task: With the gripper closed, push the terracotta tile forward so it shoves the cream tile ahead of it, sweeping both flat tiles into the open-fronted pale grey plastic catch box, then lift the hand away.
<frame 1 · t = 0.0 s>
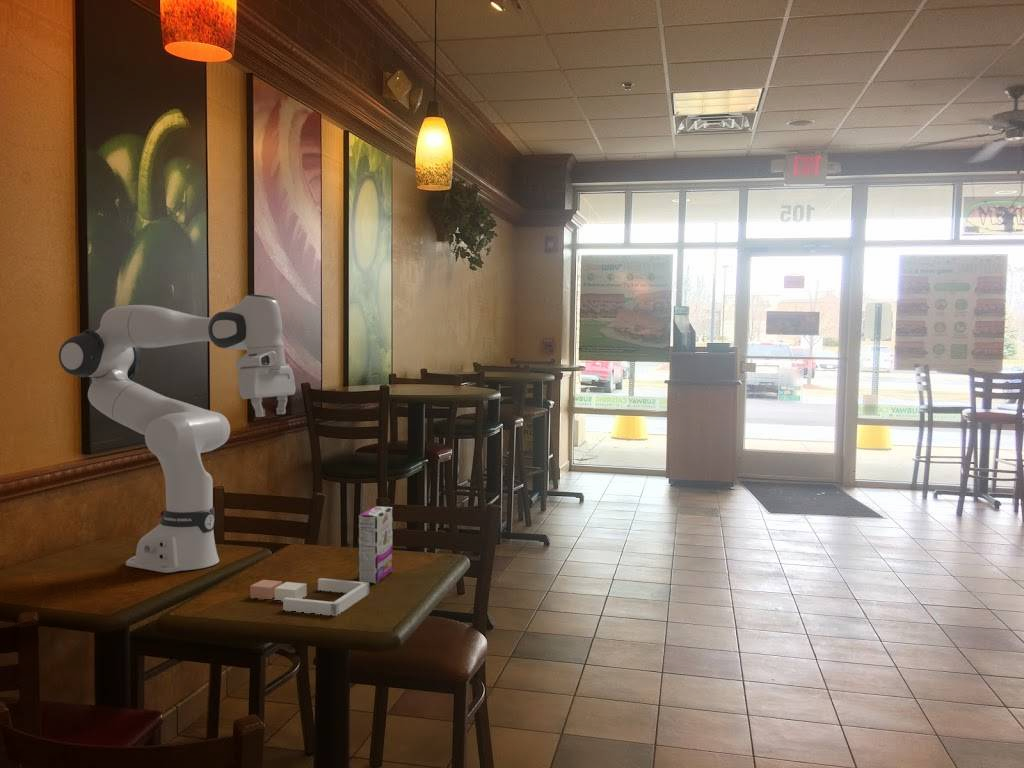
hand: (271, 415, 196), 39 cm above the table, tool pointing down, fingers open, 8 cm apart
cream tile: (290, 599, 176), on the table
terracotta tile: (266, 596, 178), on the table
candy bar box: (375, 578, 194), on the table
catch box: (327, 601, 174), on the table
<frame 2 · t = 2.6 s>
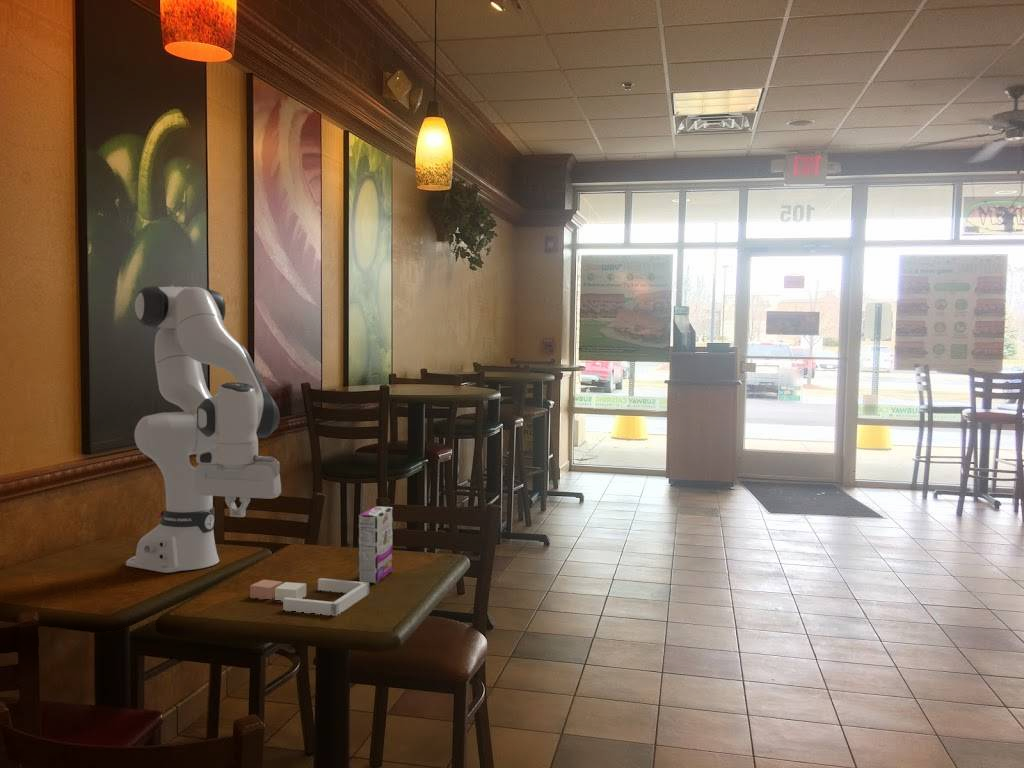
hand: (237, 516, 179), 17 cm above the table, tool pointing down, fingers closed
nothing on the table moved.
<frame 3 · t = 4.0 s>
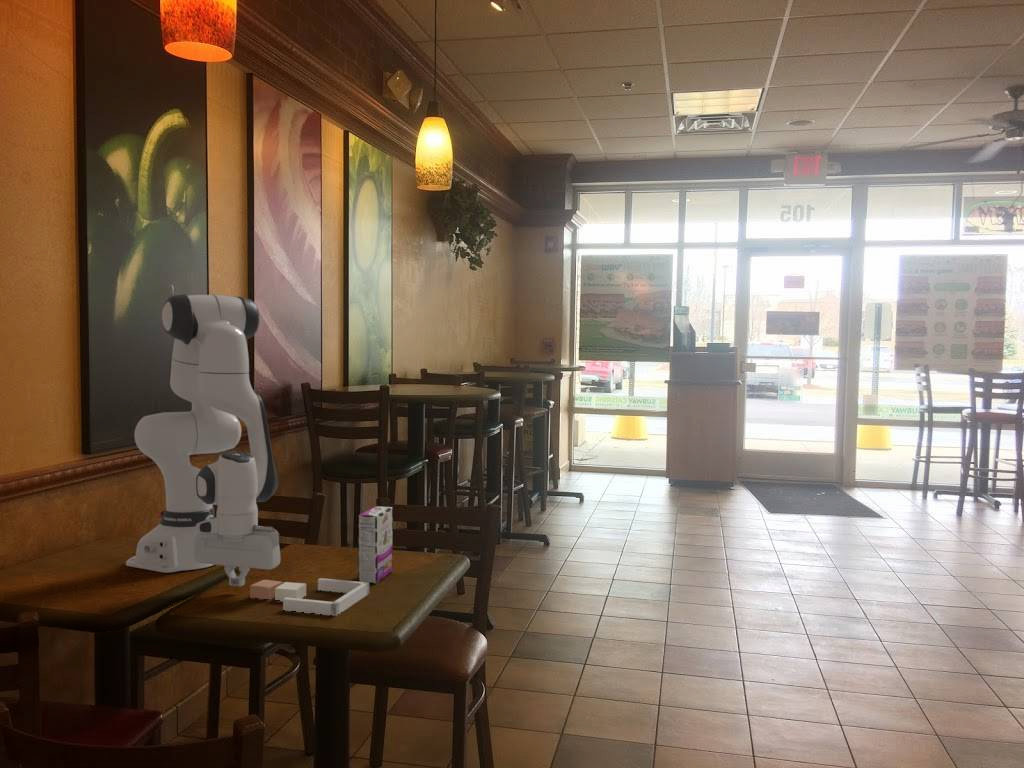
hand: (237, 585, 180), 2 cm above the table, tool pointing down, fingers closed
nothing on the table moved.
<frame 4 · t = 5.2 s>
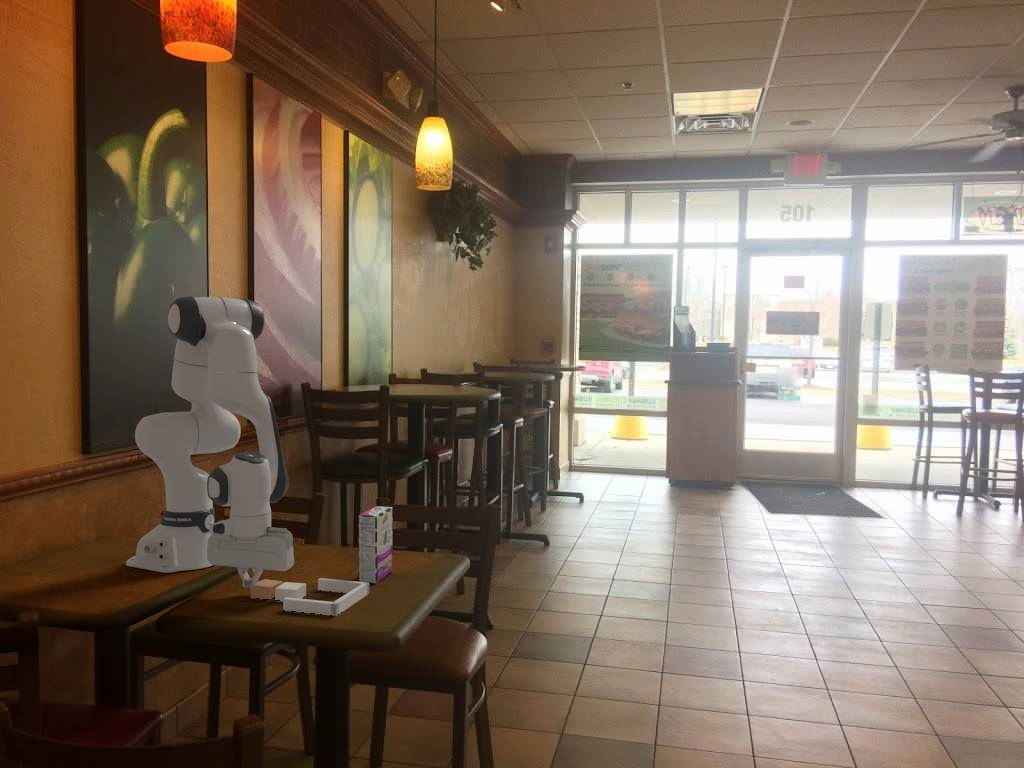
hand: (250, 586, 179), 2 cm above the table, tool pointing down, fingers closed
terracotta tile: (267, 596, 178), on the table, touching gripper
everything else where it was.
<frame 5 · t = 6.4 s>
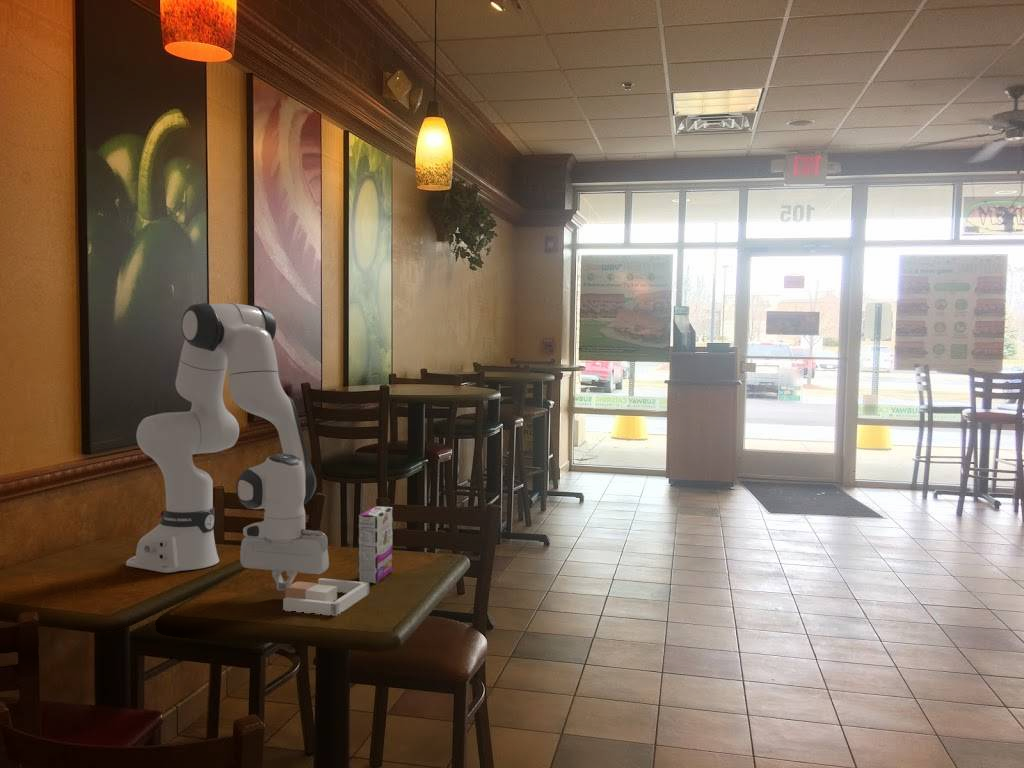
hand: (284, 590, 177), 2 cm above the table, tool pointing down, fingers closed
cream tile: (321, 601, 175), on the table, touching terracotta tile
terracotta tile: (301, 598, 176), on the table, touching cream tile, gripper
everything else where it was.
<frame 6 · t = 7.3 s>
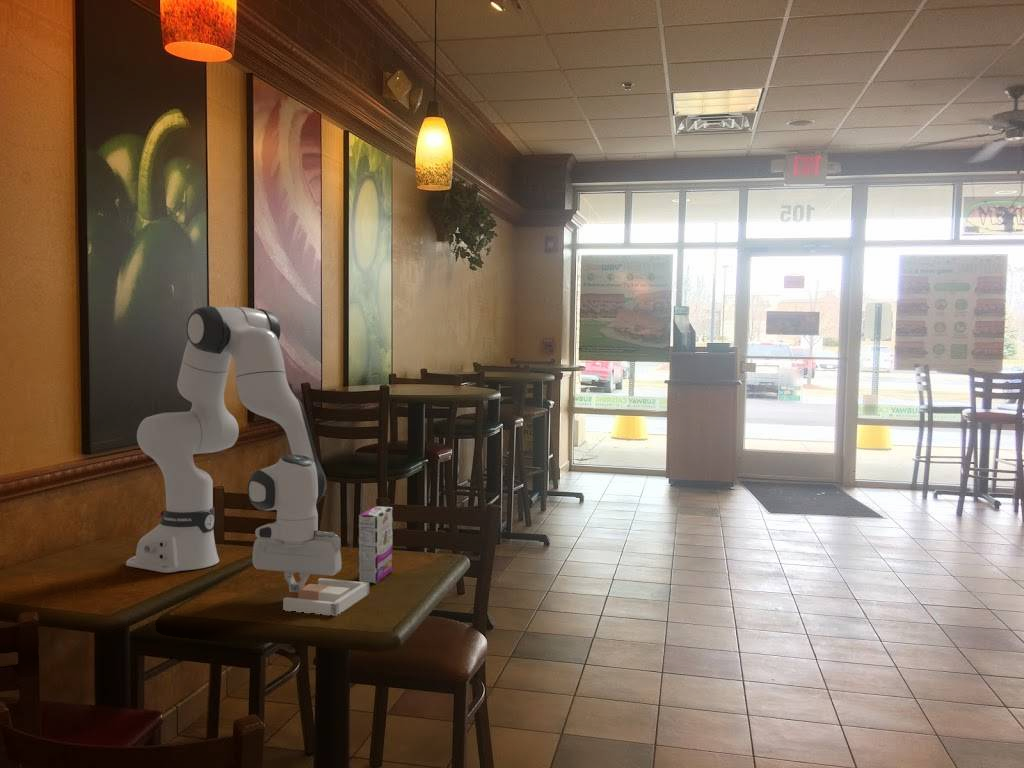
hand: (296, 591, 176), 2 cm above the table, tool pointing down, fingers closed
cream tile: (334, 603, 174), on the table
terracotta tile: (314, 601, 176), on the table
everything else where it was.
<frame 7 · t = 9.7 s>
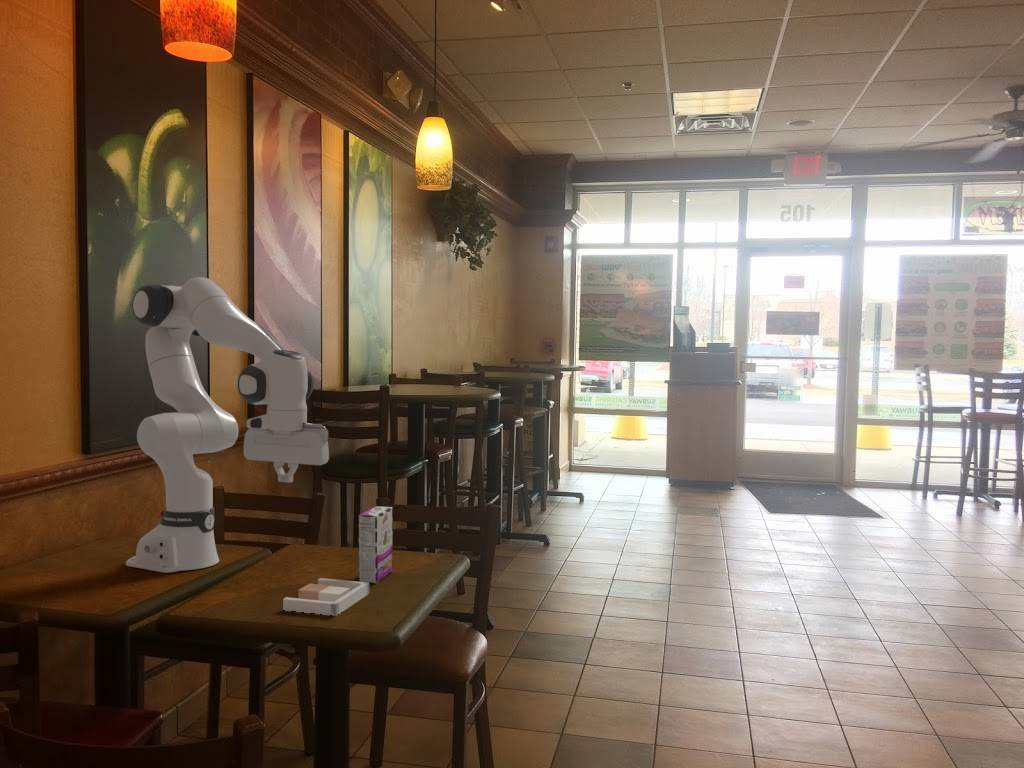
hand: (285, 481, 182), 25 cm above the table, tool pointing down, fingers closed
nothing on the table moved.
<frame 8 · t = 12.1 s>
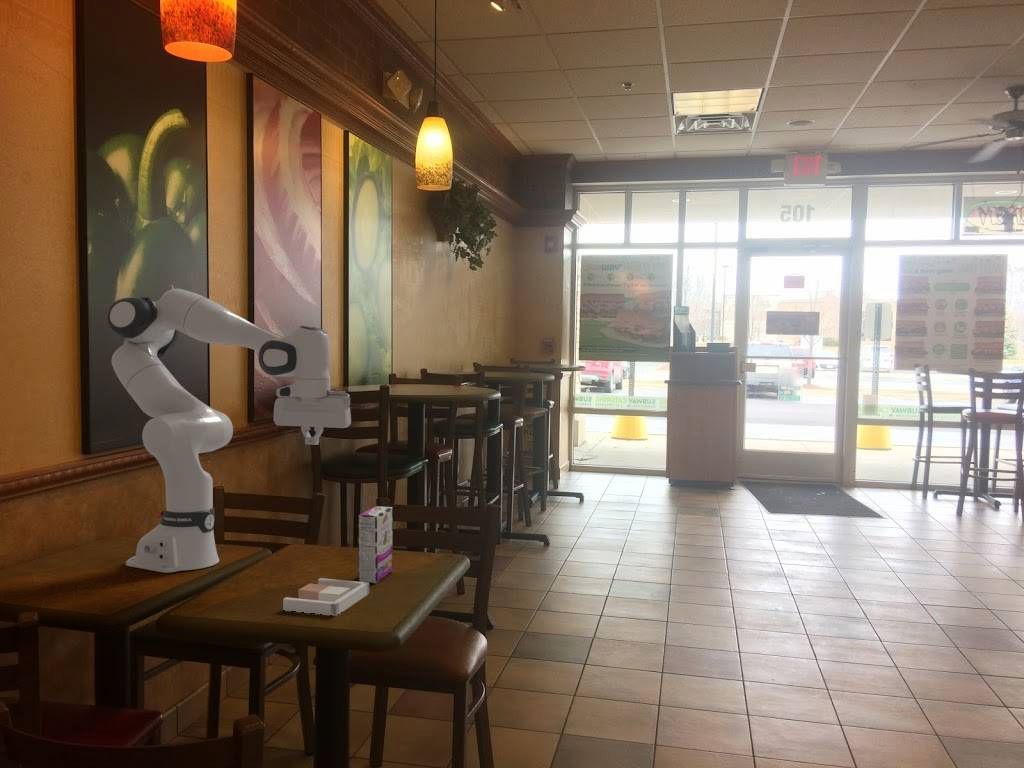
hand: (312, 444, 203), 31 cm above the table, tool pointing down, fingers closed
nothing on the table moved.
at the end: terracotta tile inside the target area on the catch box (2.3 cm from its centre), point 0.0 cm above the catch box's base; cream tile inside the target area on the catch box (2.1 cm from its centre), point 0.0 cm above the catch box's base; the gripper is holding nothing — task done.
